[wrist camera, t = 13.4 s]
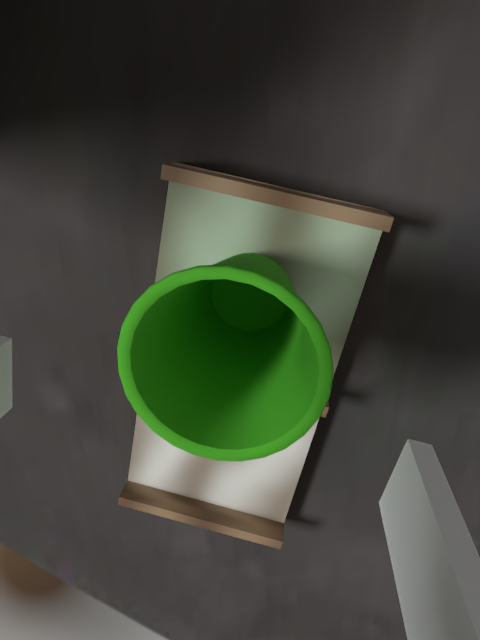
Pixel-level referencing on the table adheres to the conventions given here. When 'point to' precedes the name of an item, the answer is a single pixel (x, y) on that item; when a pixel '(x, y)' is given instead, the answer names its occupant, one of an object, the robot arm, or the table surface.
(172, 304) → the cup
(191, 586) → the table surface
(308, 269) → the wooden divided tray
